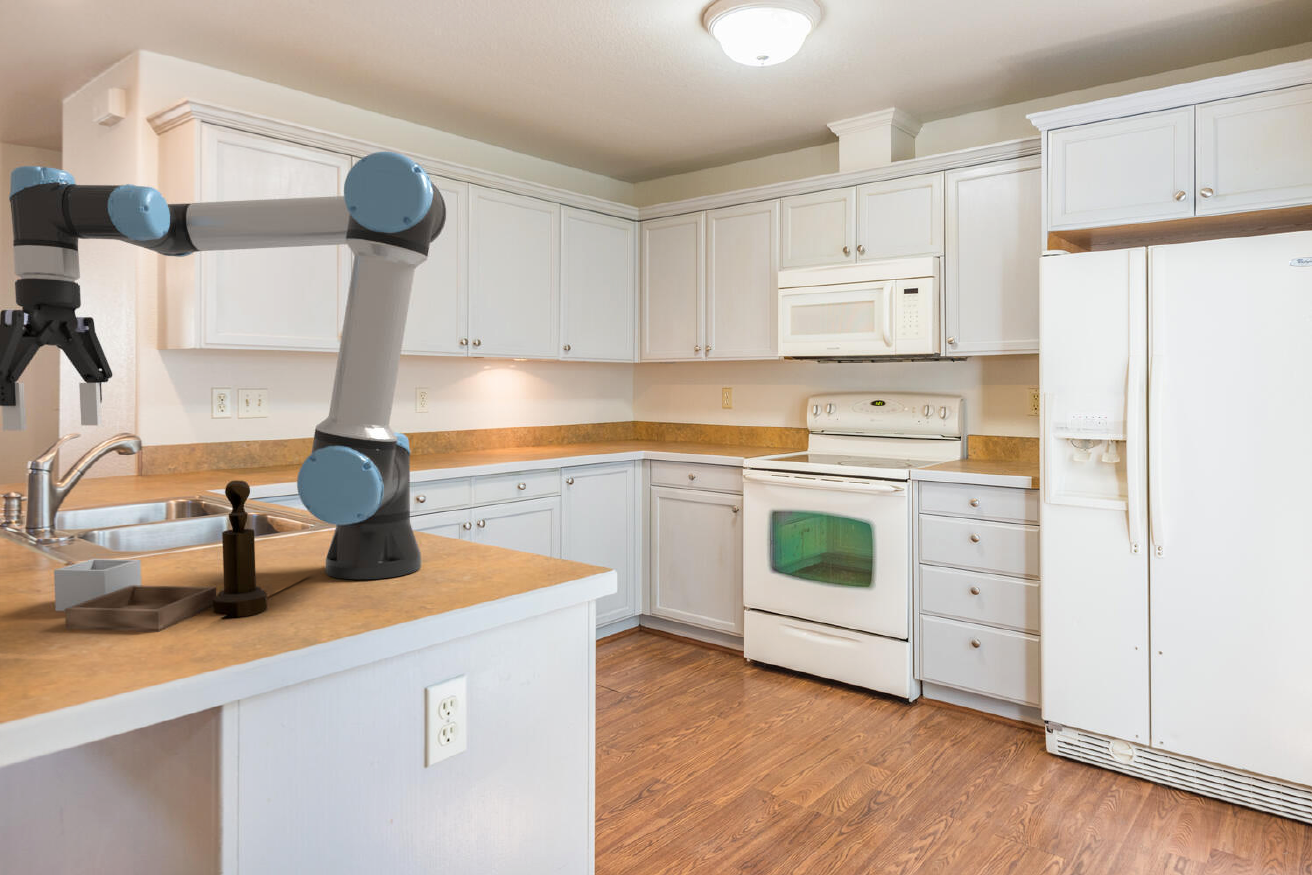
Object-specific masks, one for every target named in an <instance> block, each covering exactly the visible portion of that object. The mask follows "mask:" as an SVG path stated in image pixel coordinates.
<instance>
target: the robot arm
mask: <svg viewBox="0 0 1312 875" xmlns="http://www.w3.org/2000/svg"><path fill="white" fill-rule="evenodd" d="M343 184H344V186H343V195H341V196H340V195H339V196H338V195H337V196H335V195H333V196H317V197H315V196H314V197H295V198H292V197H291V198H273V199H272V198H269V199H250V200H249V199H247V200H231V201H230V200H228V201H225V200H224V201H210V202H209V201H207V202H206V201H205V202H204V201H203V202H192V203H168V202H167V200H166V199H165V198H164V196H162V193H161V192H160V191H159V190H158V189H156V188H154V187H152V186H142V185H141V186H140V185H135V184H129V183H128V184H127V183H126V184H121V185H120V184H119V185H115V184H113V185H111V184H110V185H109V184H105V185H104V184H103V185H102V184H96V185H95V184H76V179H75V177H74V175H73V174H71V173H70V172H68V171H65V170H63V169H59V168H53V167H49V166H48V167H47V166H46V167H43V166H37V165H35V166H34V165H22V166H17V167H15V168H14V169H13V170H12V171H11V172H10V190H9V191H10V194H9V195H8V200H9V202H10V210H11V211H10V212H11V221H12V235H13V245H12V246H13V262H14V265H13V266H14V274H15V275H16V277H20V278H18V279H16V281H15V282H14V290H15V291H14V292H15V303H16V305H17V306H19V307H21V308H22V309H2V310H1V311H0V407H1V412H2V413H1V416H2V430H3V431H5V432H6V431H10V432H13V431H15V432H16V431H19V432H20V431H27V420H26V419H27V418H26V417H27V416H26V402H25V401H26V400H25V397H26V396H25V383H24V382H18V381H19V379H20V377H21V376H22V374H23V373H24V371H25V370H26V368H27V367H28V365H29V364H30V363H31V361H32V360H33V358H34V356H35V355H36V354H37V352H38V351H39V350H40V348H41V347H44V346H46V345H47V346H56V347H57V348H58V349H60V350H62V352H63V353H64V354H65V356H66V357H67V358H68V360H69V361H70V363H71V365H72V366H73V367H74V369H75V370H76V371H77V373H78V374H79V376H80V377H81V378H82V380H83V381H84V382H79V383H78V384H79V386H78V388H79V402H80V403H79V405H80V407H79V408H80V424H81V426H102V425H103V424H102V408H101V406H102V404H101V403H102V402H103V397H102V396H103V394H102V392H103V391H102V390H103V389H102V383H108V382H109V379H112V377H113V370H111V369H112V368H111V367H110V364H109V362H108V359H107V357H106V355H105V352H104V350H103V347H102V345H101V343H100V339H99V338H98V336H97V333H96V329H95V328H96V327H95V321H94V317H91V316H90V317H89V316H85V317H83V316H80V317H78V316H77V315H76V310H78V309H80V307H81V306H82V300H81V285H80V284H79V283H78V282H76V281H77V280H79V279H80V278H81V274H80V272H81V270H80V256H79V239H82V240H89V239H91V240H92V239H93V240H114V241H115V240H116V241H120V242H124V243H127V244H130V245H134V246H137V247H140V248H144V249H147V250H150V251H153V252H156V253H157V254H159V255H163V256H165V257H176V258H179V257H182V258H183V257H187V256H190V255H191V254H193V253H197V252H209V251H230V250H231V251H233V250H256V249H271V248H272V249H274V248H295V247H312V246H313V247H315V246H336V245H337V246H338V245H340V246H341V245H347V246H348V248H349V249H350V251H351V252H352V253H353V256H354V258H353V261H352V262H353V264H352V270H351V274H350V275H351V276H350V281H349V288H348V293H347V301H346V306H345V312H344V313H345V314H344V318H343V325H342V331H341V338H340V344H339V350H338V356H337V361H336V362H337V363H336V369H335V376H334V381H333V388H332V393H331V400H330V404H329V412H328V416H327V417H326V418H325V419H324V420H323V421H321V422H320V423H318V424H317V425H316V427H315V429H314V434H313V442H312V447H311V454H310V455H308V456H307V457H306V458H305V460H304V462H303V463H302V464H301V466H300V469H299V471H298V474H297V480H296V487H297V494H298V496H299V498H300V501H301V504H302V505H303V506H304V507H305V508H306V510H307V511H308V512H309V513H310V515H312V516H314V517H315V518H317V519H318V520H319V521H322V522H324V523H327V524H329V525H330V524H331V525H335V529H334V532H333V536H332V539H331V541H330V542H331V543H330V545H329V548H328V551H327V554H326V557H325V574H326V575H328V576H329V577H333V578H336V579H344V580H378V579H388V578H395V577H400V576H405V575H410V574H412V573H415V572H417V571H419V570H420V569H421V568H422V554H421V553H422V552H421V551H420V548H419V545H418V542H417V540H416V536H415V534H414V530H413V528H412V527H413V526H412V524H411V488H410V487H411V485H410V484H411V482H410V478H411V477H410V476H411V475H410V473H411V472H410V468H411V467H410V457H411V454H412V453H411V449H410V441H409V437H408V436H406V435H405V434H403V433H401V432H394V431H393V430H392V428H391V426H390V422H391V417H392V416H391V415H392V410H393V409H392V408H393V402H394V397H395V392H396V383H397V379H398V373H399V366H400V361H401V354H402V348H403V342H404V338H405V337H404V336H405V330H406V324H407V319H408V318H407V317H408V312H409V306H410V300H411V293H412V286H413V282H414V276H415V270H416V269H417V267H418V266H420V265H421V264H423V263H424V262H426V261H428V257H429V250H430V244H431V243H433V242H434V241H435V240H436V239H438V237H439V236H440V235H441V233H442V230H443V229H444V227H445V223H446V220H447V208H446V207H447V206H446V203H445V200H444V197H443V196H442V193H441V192H440V190H439V188H438V187H437V186H436V185H435V184H434V183H433V181H432V180H431V179H430V177H429V175H428V173H427V171H426V170H425V169H424V168H423V167H422V166H421V165H420V164H419V163H417V162H415V161H414V160H412V159H411V158H410V157H408V156H406V155H404V154H400V153H397V152H393V151H378V152H377V151H376V152H374V153H370V154H367V155H366V156H364V157H363V158H361V159H359V160H358V161H357V162H355V164H354V165H352V167H351V168H350V170H349V171H348V173H347V175H346V178H345V180H344V183H343Z"/></svg>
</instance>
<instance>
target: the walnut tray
mask: <svg viewBox="0 0 1312 875" xmlns="http://www.w3.org/2000/svg"><path fill="white" fill-rule="evenodd" d="M215 596H217V587H215V586H213V587H212V586H185V585H184V586H181V585H180V586H176V585H174V586H173V585H142V584H141V585H132V586H129V587H126V588H123V589H120V590H117V591H114V592H112V593H109V594H106V595H103V596H100V597H97V598H95V599H92V600H89V601H86V602H83V603H80V604H77V605H75V606H72V607H69V608H66V609H65V611H64V616H65V630H79V631H81V630H82V631H83V630H85V631H86V630H87V631H92V630H93V631H116V632H117V631H120V632H124V631H125V632H150V633H151V632H157V633H158V632H161V631H163V630H166V629H168V628H170V627H172V626H175V625H177V624H179V623H181V622H183V621H186V620H188V619H190V618H193V617H194V616H197V615H199V614H201V613H203V612H206V611H208V610H209V609H212V608H213V598H214V597H215Z"/></svg>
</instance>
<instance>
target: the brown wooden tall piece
mask: <svg viewBox="0 0 1312 875" xmlns="http://www.w3.org/2000/svg"><path fill="white" fill-rule="evenodd" d="M250 493H251V488H250V485H249V484H248V482H247V481H244V480H231V481H229V482H228V483H227V484H226V486H225V488H224V494H225V497H226V498H227V499H228V501H229V503H230V505H231V507H232V510H231V512H229V513H228V519H229V522H230V526H231V529H228V530H224V531H222V532H221V536H222V538H221V539H222V542H221V543H222V566H223V569H222V570H223V571H222V572H223V589H222V590H220V591H219V592H218V593H217V594H216V596H215V597H214V598H213V607H212V608H213V610H212V611H213V613H214V614H217V615H221V616H222V617H221V618H222V619H235V618H243V617H249V616H255V615H259V614H261V613H263V612H264V611H266V610H267V609H268V601H267V600H268V598H267V592H266V590H264V589H262V588H261V587H259V586H257V576H256V553H255V552H256V551H255V550H256V549H255V548H256V546H255V544H256V543H255V539H256V538H255V529H252V528H250V529H249V528H245V527H246V523H247V521H248V520H247V519H248V516H249V514H248V512H246V510H245V504H246V502H247V500H248V498H249V497H250V495H251V494H250Z"/></svg>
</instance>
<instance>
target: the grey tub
mask: <svg viewBox="0 0 1312 875" xmlns="http://www.w3.org/2000/svg"><path fill="white" fill-rule="evenodd" d="M141 560H142V559H123V558H122V559H117V558H116V559H115V558H114V559H113V558H91V559H88V560H84V561H81V562H77V563H74V564H71V565H70V564H69V565H66V566H63V567H60V568H56V569H54V570H53V574H54V577H53V578H54V580H53V581H54V599H55V600H54V603H55V608H54V609H55V611H56V612H65V609H66V608H69V607H72V606H75V605H77V604H80V603H83V602H86V601H89V600H92V599H95V598H97V597H100V596H103V595H106V594H109V593H112V592H114V591H117V590H120V589H123V588H126V587H129V586H132V585H142V566H141V564H142V563H141Z"/></svg>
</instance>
